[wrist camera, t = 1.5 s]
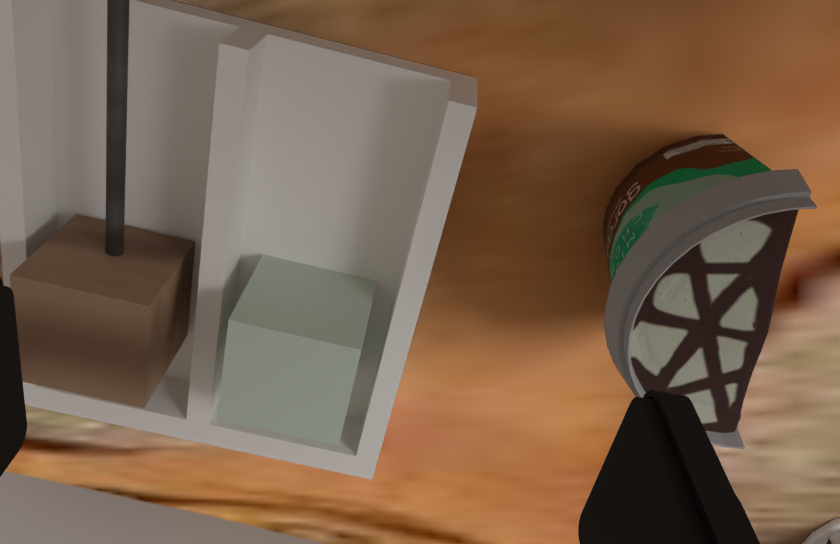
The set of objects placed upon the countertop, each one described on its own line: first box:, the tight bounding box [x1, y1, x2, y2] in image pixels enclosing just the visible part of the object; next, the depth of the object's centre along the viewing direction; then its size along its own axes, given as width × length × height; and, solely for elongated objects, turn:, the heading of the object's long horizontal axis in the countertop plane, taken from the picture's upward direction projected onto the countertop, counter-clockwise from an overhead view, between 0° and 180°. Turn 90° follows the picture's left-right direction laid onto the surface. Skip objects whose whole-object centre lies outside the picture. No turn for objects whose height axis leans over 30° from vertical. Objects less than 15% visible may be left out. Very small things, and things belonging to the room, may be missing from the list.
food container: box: [603, 134, 817, 449], centre depth 32 cm, size 12×6×10 cm, turn 0°
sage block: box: [217, 254, 377, 446], centre depth 36 cm, size 6×6×6 cm
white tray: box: [0, 0, 477, 480], centre depth 36 cm, size 22×20×4 cm
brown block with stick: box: [10, 0, 195, 408], centre depth 30 cm, size 24×6×6 cm, turn 167°
